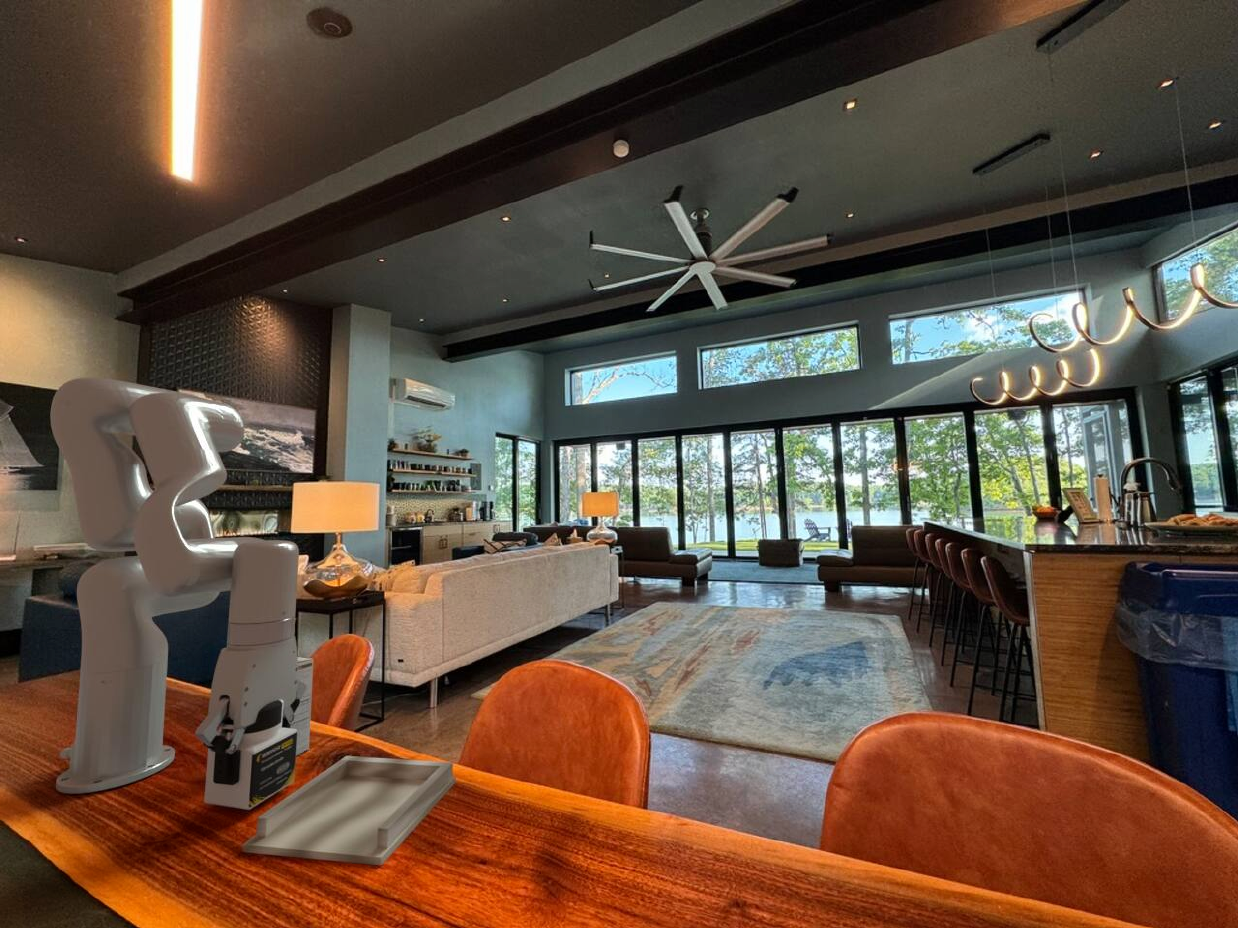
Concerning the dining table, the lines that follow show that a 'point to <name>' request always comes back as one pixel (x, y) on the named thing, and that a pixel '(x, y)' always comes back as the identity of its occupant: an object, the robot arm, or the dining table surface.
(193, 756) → the dining table surface
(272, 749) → the medicine bottle
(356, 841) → the bottle stand
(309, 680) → the syrup box
